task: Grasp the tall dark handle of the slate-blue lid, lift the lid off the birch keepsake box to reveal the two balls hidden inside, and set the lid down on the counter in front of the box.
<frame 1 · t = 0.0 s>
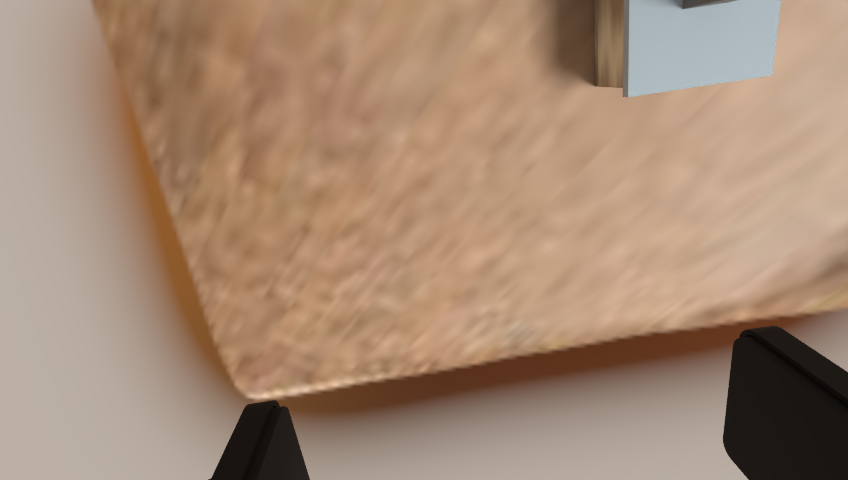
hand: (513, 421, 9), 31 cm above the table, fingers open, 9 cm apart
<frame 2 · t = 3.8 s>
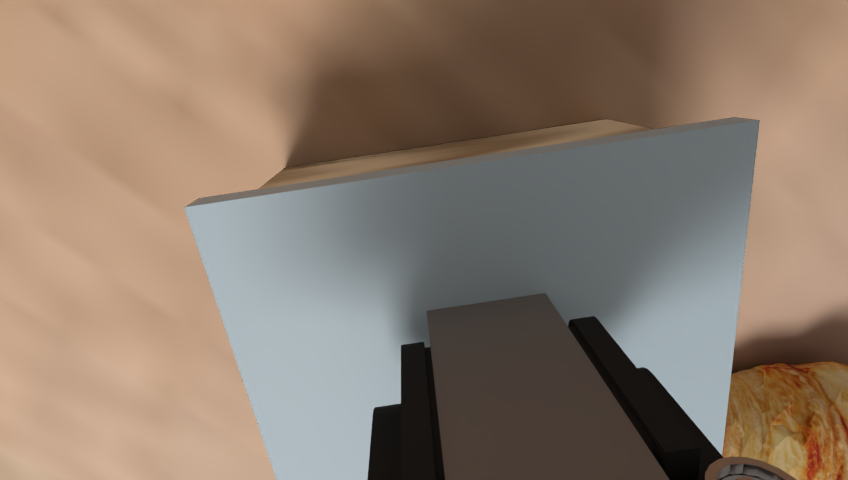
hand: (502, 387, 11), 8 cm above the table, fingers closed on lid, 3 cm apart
croissant: (759, 421, 22), on the table
lid: (485, 335, 13), point 6 cm above the table, touching box, gripper
box: (459, 255, 18), on the table
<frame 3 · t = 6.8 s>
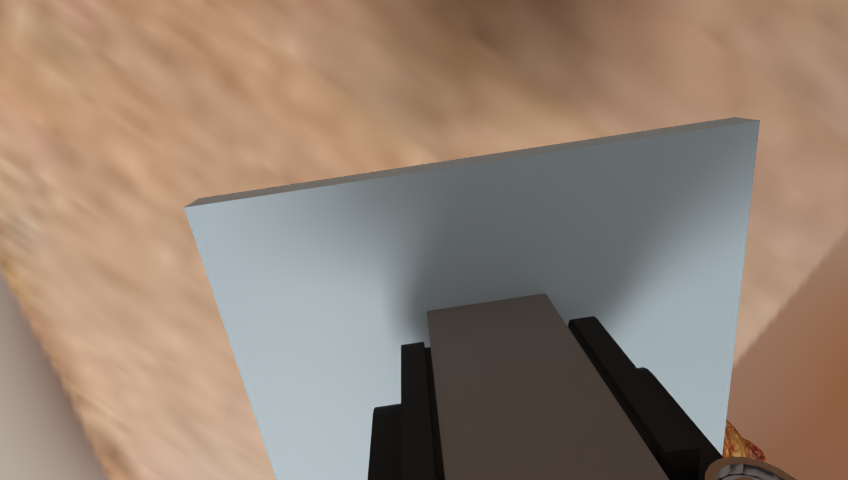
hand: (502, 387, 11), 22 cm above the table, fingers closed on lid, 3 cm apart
croissant: (628, 417, 39), on the table
lid: (485, 336, 13), point 19 cm above the table, touching gripper
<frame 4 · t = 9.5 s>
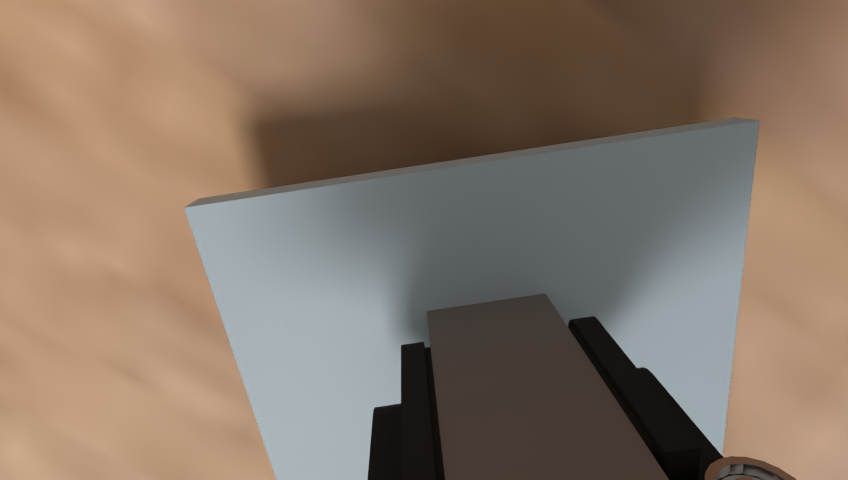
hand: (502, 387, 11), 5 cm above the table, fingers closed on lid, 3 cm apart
lid: (485, 336, 13), point 2 cm above the table, touching gripper
when the fingers open (3 cm above the table, at t = 10.6 s): lid drops 2 cm, on the table.
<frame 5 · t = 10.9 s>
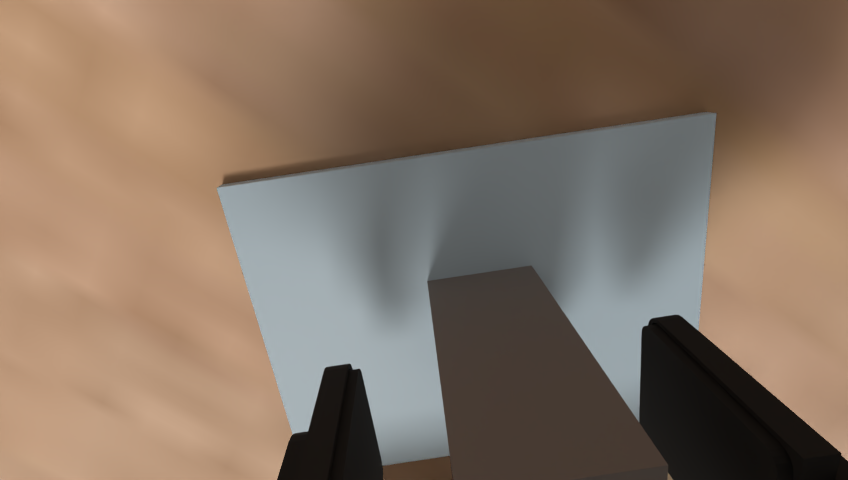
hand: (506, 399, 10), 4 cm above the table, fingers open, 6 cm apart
lid: (479, 305, 14), on the table
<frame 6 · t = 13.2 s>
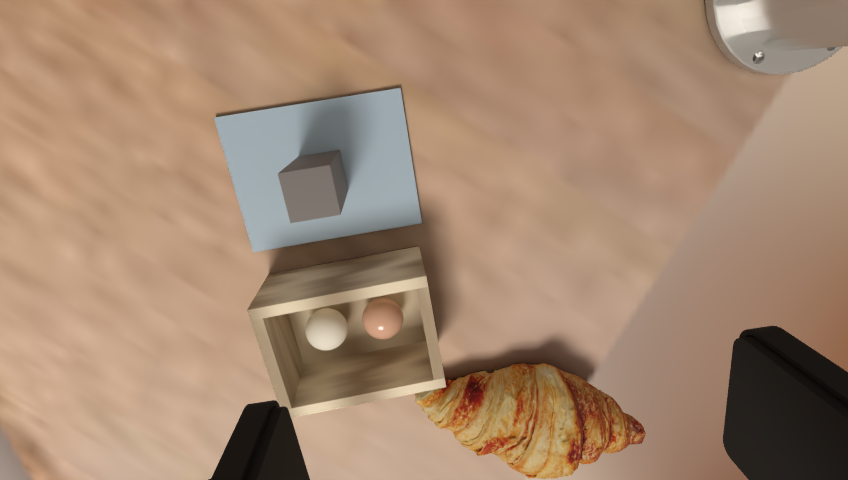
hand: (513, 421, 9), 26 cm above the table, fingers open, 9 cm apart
croissant: (524, 395, 42), on the table
ball terracotta: (382, 308, 37), point 1 cm above the table, touching box
lid: (325, 171, 34), on the table
ball cream: (329, 319, 36), point 1 cm above the table, touching box
box: (356, 310, 37), on the table
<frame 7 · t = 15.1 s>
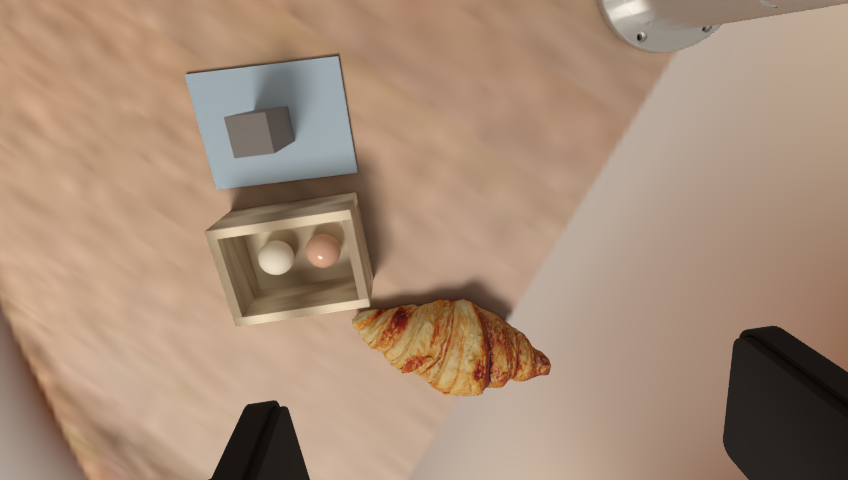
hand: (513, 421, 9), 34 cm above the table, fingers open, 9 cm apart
croissant: (451, 330, 49), on the table
ball terracotta: (325, 244, 44), point 1 cm above the table, touching box
lid: (277, 124, 41), on the table
ball cream: (280, 251, 44), point 1 cm above the table, touching box
box: (304, 245, 44), on the table
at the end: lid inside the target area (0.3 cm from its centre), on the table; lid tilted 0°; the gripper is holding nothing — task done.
